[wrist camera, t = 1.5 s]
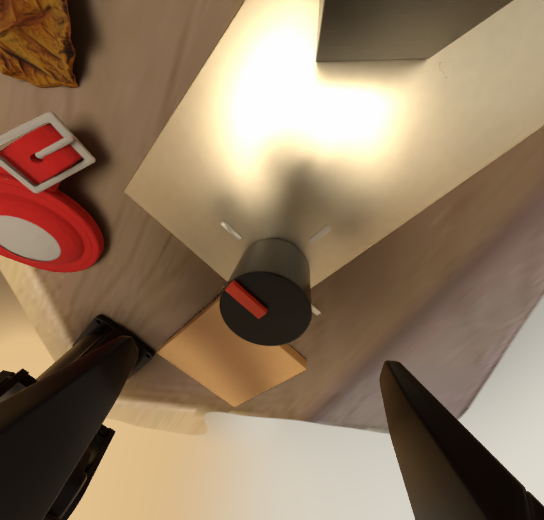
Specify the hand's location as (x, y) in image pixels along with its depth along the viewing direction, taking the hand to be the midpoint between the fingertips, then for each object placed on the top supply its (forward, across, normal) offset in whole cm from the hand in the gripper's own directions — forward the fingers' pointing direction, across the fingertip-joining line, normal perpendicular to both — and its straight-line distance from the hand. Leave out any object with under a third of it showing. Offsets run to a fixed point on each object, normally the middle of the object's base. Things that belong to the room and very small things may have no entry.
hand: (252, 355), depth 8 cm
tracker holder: (+10, +16, -3) cm, 19 cm away
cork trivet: (+9, +4, +11) cm, 15 cm away
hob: (+9, -2, -5) cm, 11 cm away
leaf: (+10, +13, -13) cm, 21 cm away
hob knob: (+7, 0, 0) cm, 7 cm away
